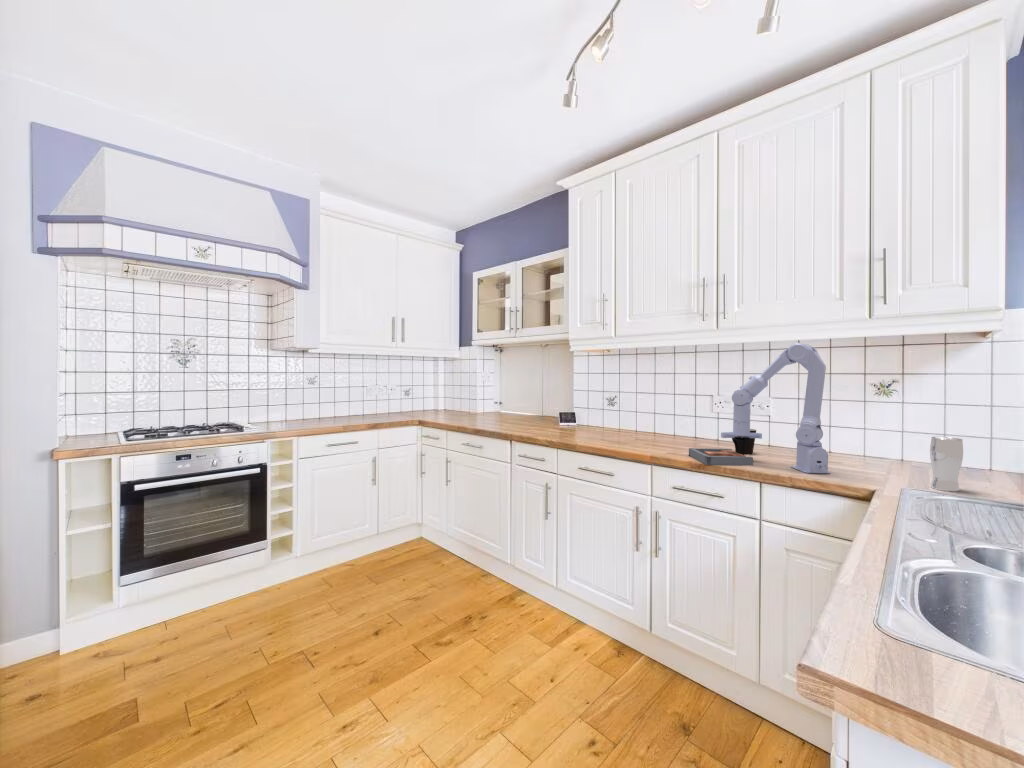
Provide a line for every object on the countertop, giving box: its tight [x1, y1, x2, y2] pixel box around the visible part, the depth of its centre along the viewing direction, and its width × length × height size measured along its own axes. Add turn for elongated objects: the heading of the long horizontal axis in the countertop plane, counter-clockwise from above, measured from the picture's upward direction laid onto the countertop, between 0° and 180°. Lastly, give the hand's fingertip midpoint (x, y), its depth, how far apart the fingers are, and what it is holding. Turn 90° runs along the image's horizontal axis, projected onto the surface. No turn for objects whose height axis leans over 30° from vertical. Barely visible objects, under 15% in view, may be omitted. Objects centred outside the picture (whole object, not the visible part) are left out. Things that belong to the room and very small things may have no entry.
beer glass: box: [929, 436, 964, 493], centre depth 131 cm, size 7×7×15 cm
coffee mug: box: [734, 428, 757, 455], centre depth 188 cm, size 12×9×10 cm
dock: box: [688, 447, 754, 466], centre depth 170 cm, size 18×16×3 cm
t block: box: [704, 449, 747, 457], centre depth 170 cm, size 12×12×3 cm
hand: (740, 457), depth 170 cm, fingers closed
